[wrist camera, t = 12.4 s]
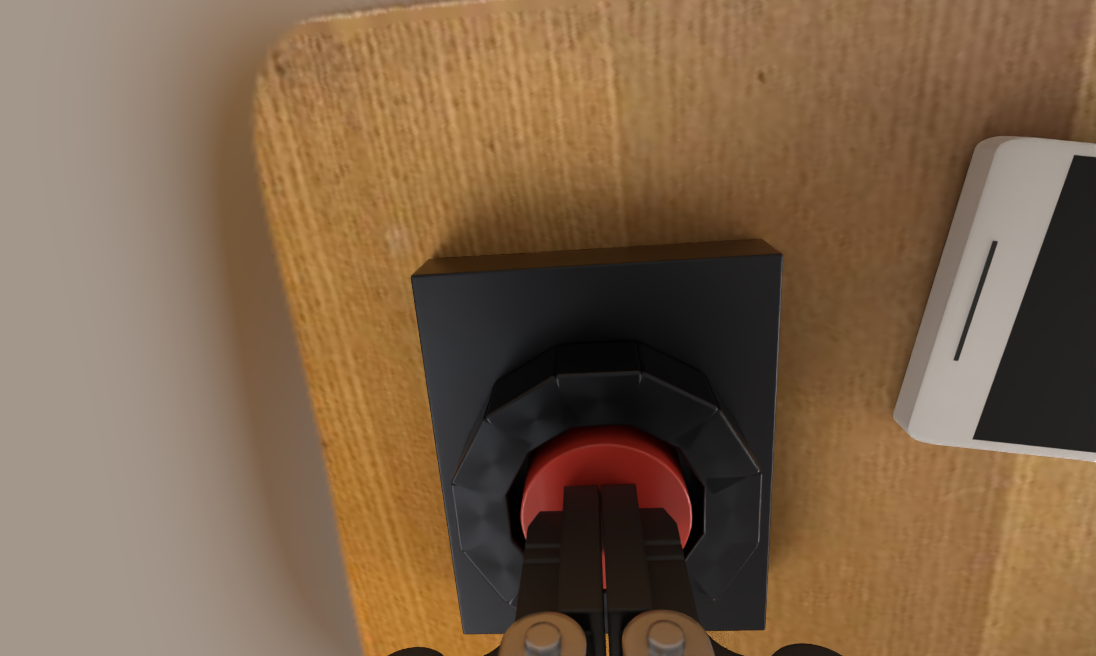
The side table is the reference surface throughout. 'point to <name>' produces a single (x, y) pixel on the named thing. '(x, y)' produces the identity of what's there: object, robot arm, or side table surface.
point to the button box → (606, 399)
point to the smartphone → (1012, 308)
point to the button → (607, 473)
